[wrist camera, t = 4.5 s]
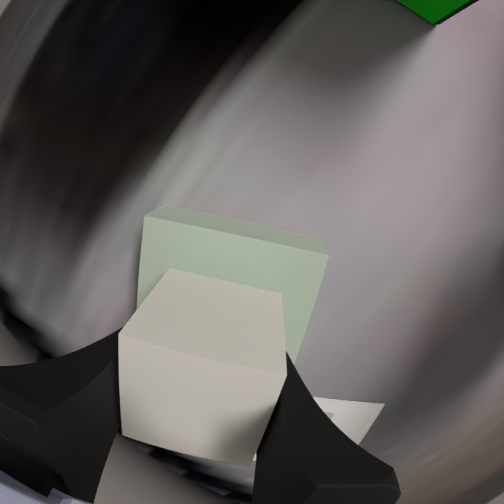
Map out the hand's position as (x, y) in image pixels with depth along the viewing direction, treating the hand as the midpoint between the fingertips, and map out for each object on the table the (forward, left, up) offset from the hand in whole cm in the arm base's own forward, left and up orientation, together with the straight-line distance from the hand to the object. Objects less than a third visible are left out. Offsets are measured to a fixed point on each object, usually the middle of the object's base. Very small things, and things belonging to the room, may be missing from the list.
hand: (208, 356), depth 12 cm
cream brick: (0, 0, -2) cm, 2 cm away
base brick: (0, 0, -6) cm, 6 cm away
